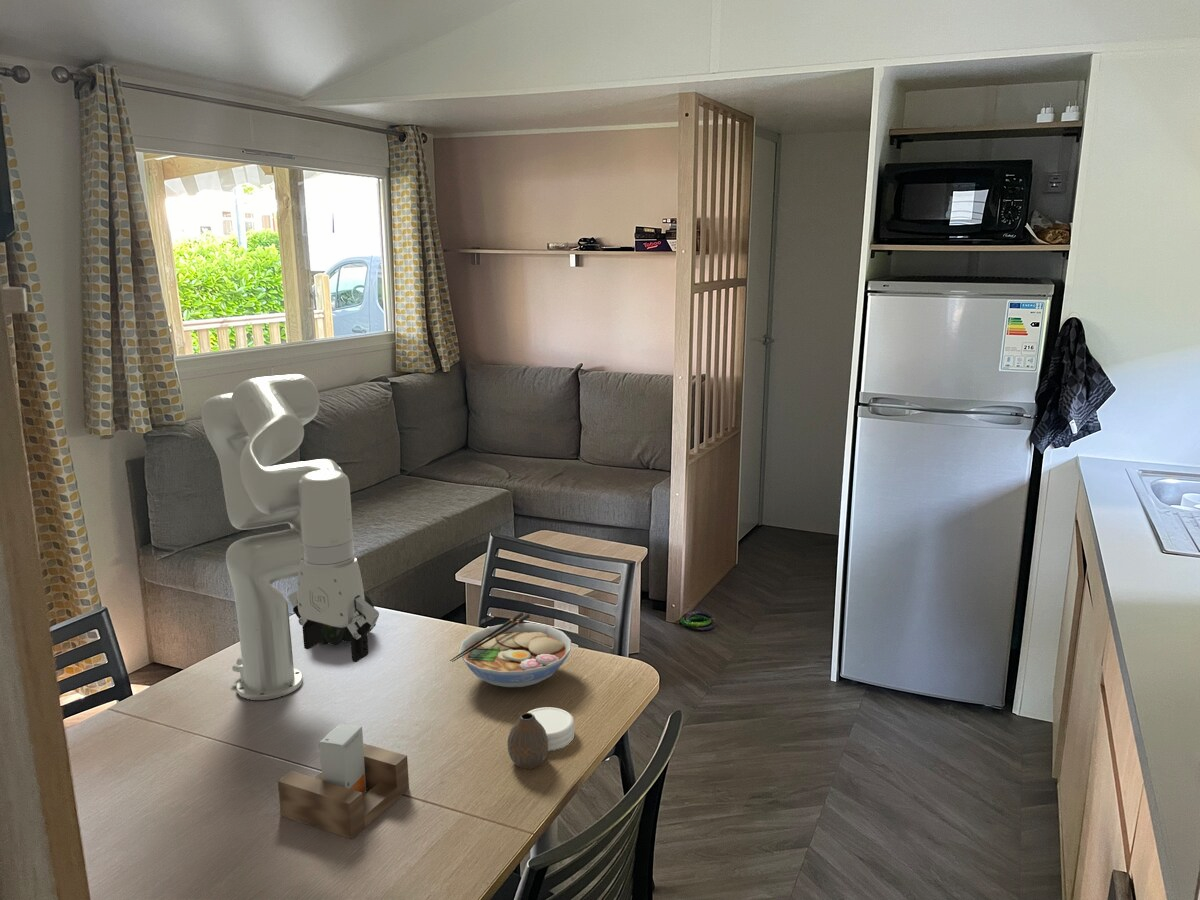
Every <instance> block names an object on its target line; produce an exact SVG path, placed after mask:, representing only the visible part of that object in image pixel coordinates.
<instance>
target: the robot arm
mask: <svg viewBox="0 0 1200 900" xmlns="http://www.w3.org/2000/svg"><path fill="white" fill-rule="evenodd" d="M320 401H321V400H320V395H319V391H318V388H317V387H316V385H315V383H314V382H313V381H312V379H311V378H310V377H308V376H306V375H304V374H300V373H293V374H291V373H289V374H281V375H279V374H278V375H268V376H258V377H252V378H247V379H246V380H243V381H242V382H240V383H239V384H237V386H236V387H235V388H234V390H233V392H226V393H222V394H218V395H215V396H211V397H210V398H208V399H206V400H205V401H204V403H203V404H202V406H201V422H202V425H203V429H204V432H205V436H206V437H207V440H208V442H209V444H210V445H211V447H212V449H213V450H214V452H215V454H216V457H217V460H218V462H219V466H220V474H221V481H222V488H223V494H224V499H225V500H224V501H225V509H226V512H227V516H228V520H229V522H230V524H231V525H232V527H234V528H235V529H237V530H241V531H242V530H245V531H246V530H255V529H260V528H267V527H272V526H276V525H277V526H278V525H282V524H283V525H284V524H288V525H290V528H289V529H284V530H283V529H282V530H278V531H274V532H273V531H271V532H266V533H261V534H260V533H259V534H255V535H250V536H246V537H243V538H240V539H237V540H236V541H234V542H232V543H231V544H230V545H229V547H228V548H227V550H226V552H225V563H226V567H227V571H228V576H229V577H230V582H231V585H232V590H233V594H234V595H233V596H234V601H235V607H236V616H237V617H236V618H237V625H238V633H239V635H238V637H239V645H240V655H241V656H239V657H238V658H237V659H236V664H233V666H232V667H231V668H232V669H231V670H232V672H236V673H240V675H239V676H240V679H239V680H238V681H237V683H236V686H235V687H236V693H237V695H238V694H239V695H238V696H240V697H241V698H243V699H245V698H246V700H249V699H250V700H251V701H267V700H273V699H277V698H281V696H282V697H284V696H286V695H289V694H291V693H293V692H295V691H297V690H298V689H299V688H300V687H301V685H302V684H303V682H304V678H303V673H302V671H301V670H299V669H298V668H295V667H294V657H293V655H294V654H293V647H292V634H291V625H290V613H289V604H288V600H287V598H286V596H285V594H284V593H283V592H282V591H281V590H280V589H278V588H277V587H275V586H274V585H273V584H274V583H275V582H278V581H282V580H285V579H291V578H295V577H297V584H296V585H297V588H296V591H293V592H292V593H290V594H288V599H289V602H290V605H291V607H293V609H292V610H293V613H294V614H295V615H296V617H297V618H298V624H299V625H300V626H302V628H301V629H302V636H303V637H302V639H303V648H304V649H305V650H310V649H312V648H314V647H315V646H317V645H319V644H320V642H321V633H320V623H322V624H326V625H330V626H335V627H340V628H343V627H346V626H347V628H348V629H349V631H350V632H351V634H352V635H353V638H351V641H350V651H351V661H352V662H353V663H357V662H359V661H360V660H362V659H364V658H365V657H367V656H368V654H369V641H368V635H369V634H370V633H371V632H372V630H373V629H374V628H375V627H376V623H377V622H378V618H379V617H380V612H379V611H378V609H376V608H375V607H374V608H373V607H372V606H371V605H369V604H368V603H367V602H366V601H365V600H364V591H365V589H364V583H363V579H362V575H361V569H360V565H359V562H358V559H357V558H356V557H355V543H354V542H355V541H354V530H353V516H352V515H353V514H352V502H351V501H352V499H351V485H350V479H349V477H348V475H347V474H345V472H343V469H342V468H341V467H340V466H339V464H337V462H335V461H334V460H333V459H330V458H319V459H312V460H311V459H310V460H305V461H303V460H301V461H295V462H288V463H282V464H277V463H278V462H280V461H282V460H283V459H285V458H287V457H288V456H290V455H291V454H293V453H294V452H295V451H296V450H297V449H298V448H299V447H300V446H301V445H302V442H303V440H304V437H305V429H304V428H305V427H304V426H305V425H306V424H308V423H310V422H312V420H314V419H315V417H317V415H318V412H319V410H320ZM274 464H275V465H274ZM364 615H365V616H366V620H365V619H364V617H363V616H364ZM353 617H354V618H353ZM356 621H357V623H358V624H359V626H360V628H359V629H358V628H357V627H356V625H355V624H354V622H356Z"/></svg>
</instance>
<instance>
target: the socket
mask: <svg viewBox="0 0 1200 900" xmlns="http://www.w3.org/2000/svg"><path fill="white" fill-rule="evenodd" d="M363 749H364V765H365V780H366V790H368V791H366V793H365V794H364V795H363V793H362V792H358V791H355V790H352V789H349V788H345V787H342V786H339V785H336V784H333V783H329V782H326V781H323V780H322V772H321V773H320V772H319V774H318V775H317V776H315V777H314V776H309V775H307V774H303V773H300V772H297V771H293V770H291V771H289V772H288V773H287V774H286V775H284V776H283V777H281V778H280V779H278V780H277V788H278V795H279V796H278V798H279V806H280V809H279V810H280V815H281V816H283V817H286V818H287V819H291V820H294V821H296V822H300V823H303V824H306V825H309V826H311V827H315V828H318V829H321V830H323V831H326V832H329V833H333V834H335V835H339V836H342V837H345V838H347V839H350V840H353V839H354V838H356V836H358V835H359V834H360V833H361V832H362V831H363V830H365V828H366V827H367V826H369V825H371V823H373V821H375V819H377V818H378V817H379V816H380V815H382V814H383V813H384V812H385V811H386V810H387V809H388V808H389V807H390V806H391V805H392V804H394V803H395V802H397V800H398V799H399V798H400V797H402V795H404V794H405V793H406V792H407V791H409V789H410V781H409V780H410V779H409V763H408V755H407V754H406V755H405V754H402V753H399V752H395V751H392V750H388V749H384V748H382V747H377V746H374V745H372V744H371V745H370V744H367V743H364V742H363Z"/></svg>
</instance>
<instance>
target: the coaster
mask: <svg viewBox="0 0 1200 900" xmlns="http://www.w3.org/2000/svg"><path fill="white" fill-rule="evenodd" d="M526 713H532V714H533V715H534V716H535V718H536V720H537V721H538V722H539V723H540V724H541V725H542V726H543V727H544V729H545V731H546V734H547V737H548V750H547V752H551V751H550V750H553V751H557V750H556V749H558V750H560V749H559V748H561V749H563V748H565V747H567V746H568V745H570V744H571V743H572V742H573V740H574V738H575V720H574V717H573V715H572V714H571V713H570V712H568V711H566V710H564V709H562V708H558V707H550V706H548V707H547V706H544V707H537V708H534V709H531V710H529V711H528V712H527V711H526ZM571 741H572V742H571ZM570 742H571V743H570ZM569 743H570V744H569ZM566 745H567V746H566ZM564 746H565V747H564ZM562 747H563V748H562Z"/></svg>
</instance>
